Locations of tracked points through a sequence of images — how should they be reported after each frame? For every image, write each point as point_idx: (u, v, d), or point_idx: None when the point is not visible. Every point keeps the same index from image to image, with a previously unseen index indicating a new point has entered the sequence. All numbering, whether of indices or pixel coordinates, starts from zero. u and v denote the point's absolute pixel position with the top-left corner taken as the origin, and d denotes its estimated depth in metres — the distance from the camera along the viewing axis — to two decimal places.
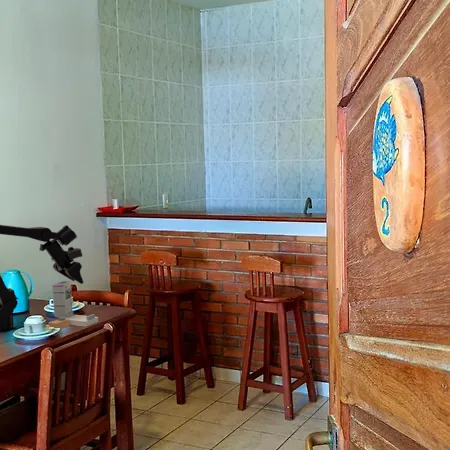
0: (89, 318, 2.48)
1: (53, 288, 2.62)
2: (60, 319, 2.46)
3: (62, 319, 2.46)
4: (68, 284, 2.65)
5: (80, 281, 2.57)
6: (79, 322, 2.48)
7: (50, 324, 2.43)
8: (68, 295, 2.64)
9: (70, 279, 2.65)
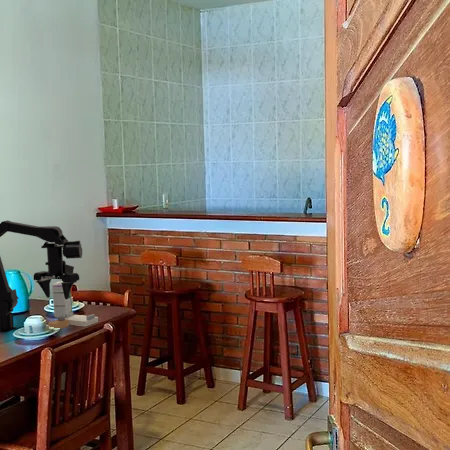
0: (89, 318, 2.48)
1: (52, 288, 2.62)
2: (60, 319, 2.46)
3: (62, 319, 2.46)
4: None
5: (66, 295, 2.42)
6: (79, 322, 2.48)
7: (50, 324, 2.43)
8: None
9: (45, 294, 2.46)
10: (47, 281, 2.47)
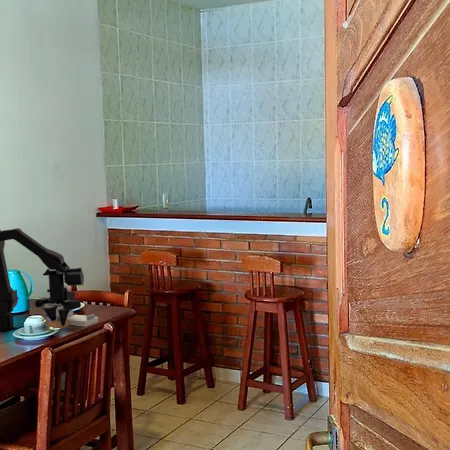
0: (89, 318, 2.48)
1: None
2: (59, 319, 2.45)
3: None
4: None
5: (63, 322, 2.44)
6: (79, 322, 2.48)
7: (49, 324, 2.43)
8: None
9: None
10: (53, 308, 2.47)
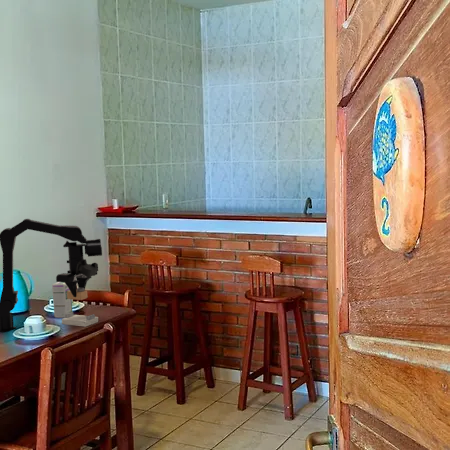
0: (89, 318, 2.48)
1: (53, 288, 2.62)
2: None
3: (77, 290, 2.50)
4: None
5: (72, 293, 2.49)
6: (79, 322, 2.48)
7: None
8: None
9: None
10: (82, 279, 2.53)
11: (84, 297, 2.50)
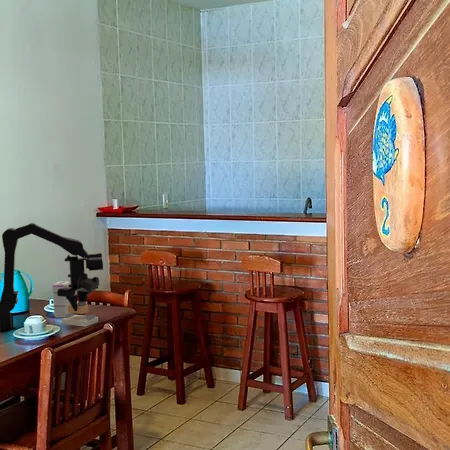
0: (89, 318, 2.48)
1: (53, 288, 2.62)
2: None
3: (78, 304, 2.51)
4: (68, 284, 2.65)
5: (73, 307, 2.50)
6: (79, 322, 2.48)
7: None
8: None
9: None
10: (83, 293, 2.54)
11: (85, 311, 2.51)
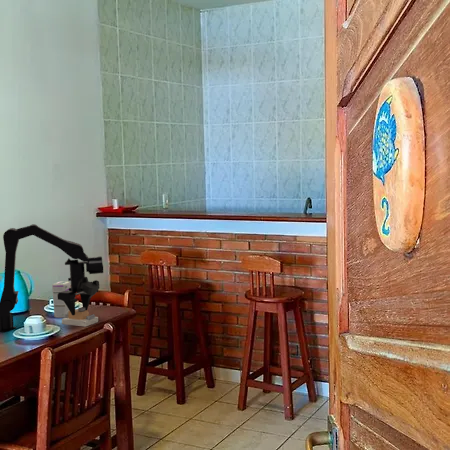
0: (89, 318, 2.48)
1: (53, 288, 2.62)
2: None
3: (78, 310, 2.51)
4: (68, 284, 2.65)
5: (71, 312, 2.48)
6: (79, 322, 2.48)
7: None
8: None
9: None
10: (86, 295, 2.55)
11: (85, 317, 2.51)
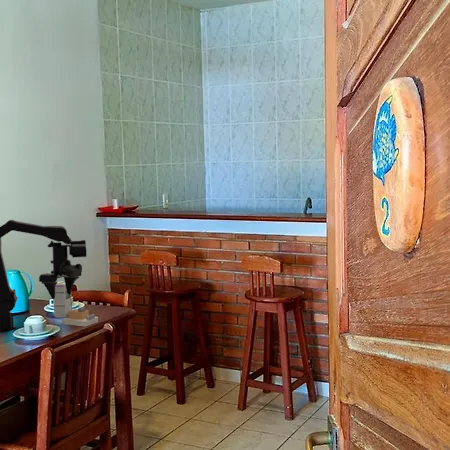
0: (89, 318, 2.48)
1: None
2: None
3: (78, 310, 2.51)
4: None
5: (51, 295, 2.45)
6: (79, 322, 2.48)
7: None
8: (68, 295, 2.64)
9: None
10: (70, 279, 2.54)
11: (85, 317, 2.51)
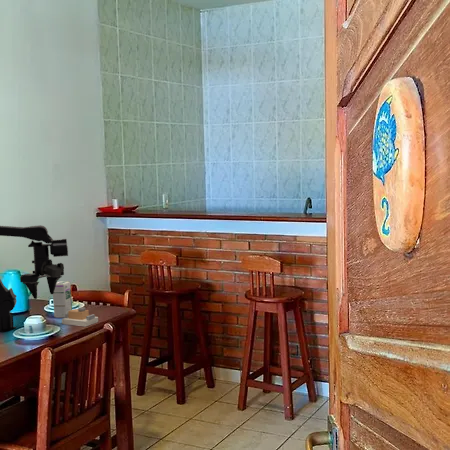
0: (89, 318, 2.48)
1: None
2: None
3: (78, 310, 2.51)
4: (68, 284, 2.65)
5: (33, 295, 2.43)
6: (79, 322, 2.48)
7: None
8: (68, 295, 2.64)
9: None
10: (52, 278, 2.52)
11: (85, 317, 2.51)
